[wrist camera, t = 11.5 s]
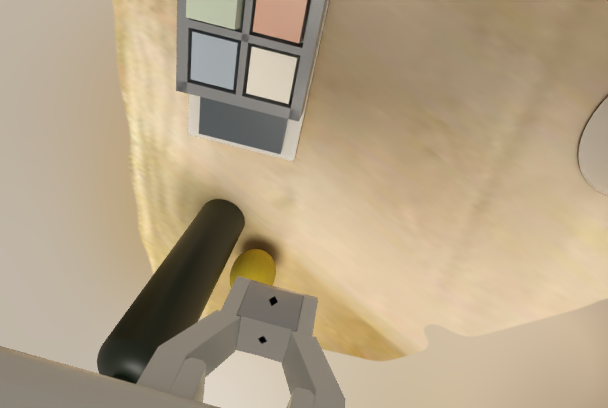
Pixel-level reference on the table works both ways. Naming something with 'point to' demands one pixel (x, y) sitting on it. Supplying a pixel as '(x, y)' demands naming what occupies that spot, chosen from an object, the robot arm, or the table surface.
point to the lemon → (254, 267)
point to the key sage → (217, 12)
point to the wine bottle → (173, 292)
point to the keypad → (237, 103)
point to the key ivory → (272, 73)
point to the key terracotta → (281, 18)
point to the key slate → (215, 59)
